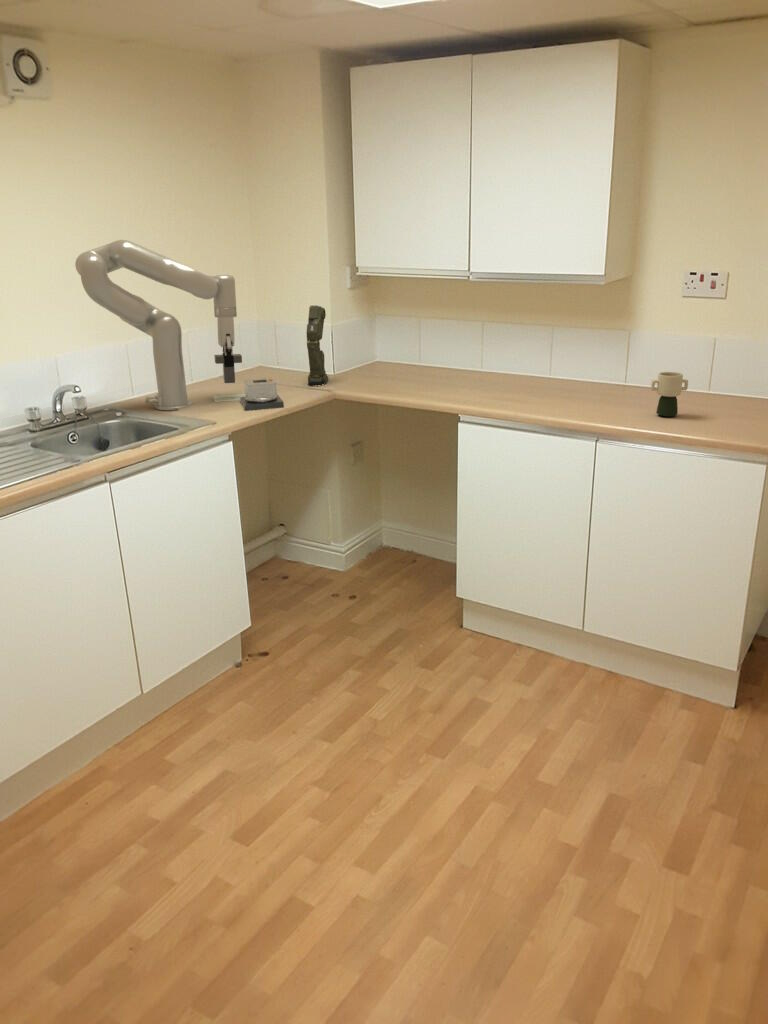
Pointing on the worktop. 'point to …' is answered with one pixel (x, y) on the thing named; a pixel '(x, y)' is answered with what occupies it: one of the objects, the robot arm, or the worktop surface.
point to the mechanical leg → (316, 346)
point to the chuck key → (228, 371)
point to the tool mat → (228, 397)
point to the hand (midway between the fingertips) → (228, 365)
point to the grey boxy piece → (260, 390)
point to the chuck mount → (262, 404)
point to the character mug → (668, 392)
